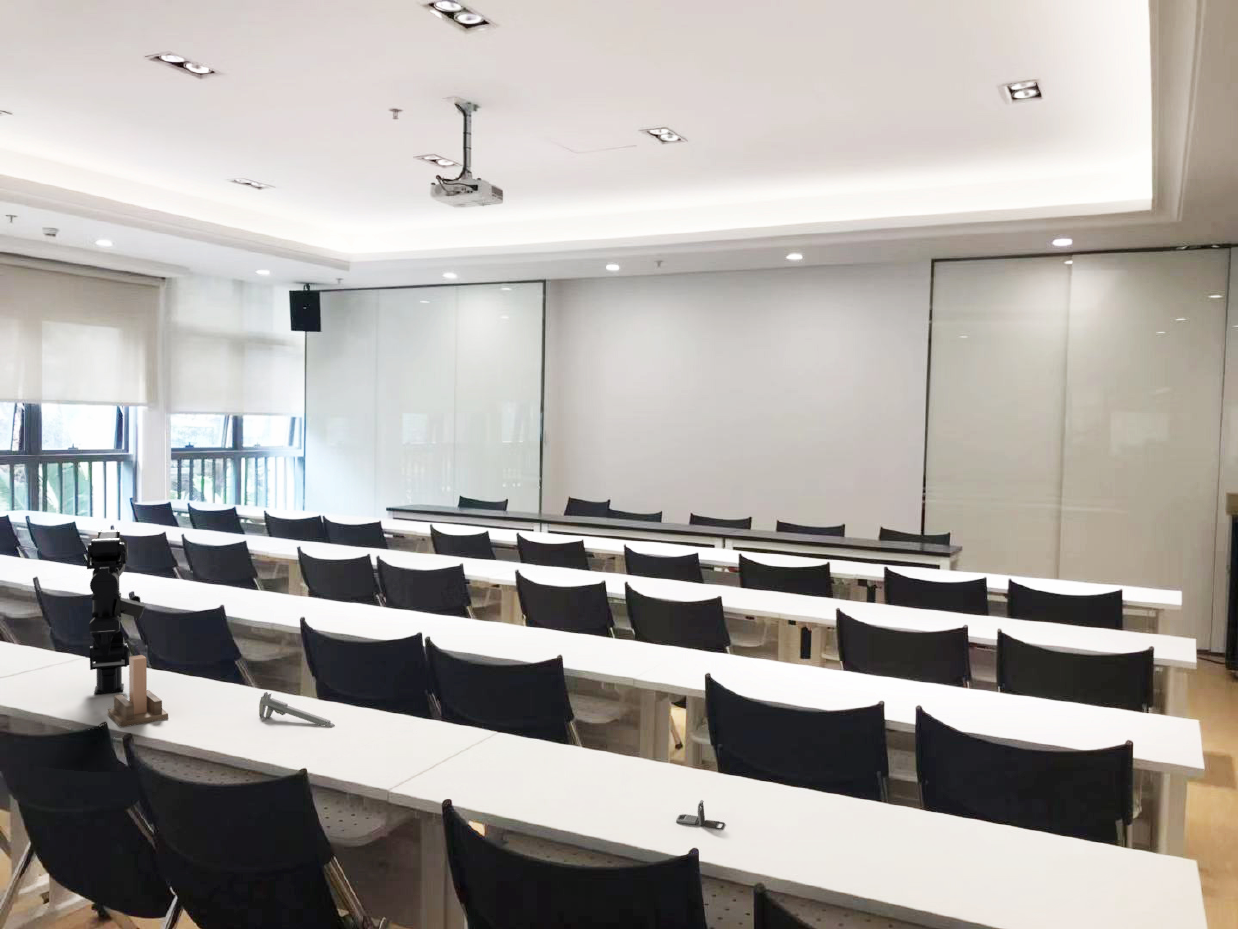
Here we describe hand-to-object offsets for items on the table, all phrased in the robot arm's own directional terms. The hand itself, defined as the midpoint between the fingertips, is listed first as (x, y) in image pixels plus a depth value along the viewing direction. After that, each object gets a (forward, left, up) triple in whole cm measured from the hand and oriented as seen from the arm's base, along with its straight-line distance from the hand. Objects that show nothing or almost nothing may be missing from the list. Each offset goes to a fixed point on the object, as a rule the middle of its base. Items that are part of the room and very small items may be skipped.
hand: (106, 653), depth 225 cm
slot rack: (+12, +7, -13) cm, 19 cm away
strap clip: (+118, +98, -14) cm, 154 cm away
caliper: (+31, +40, -14) cm, 53 cm away
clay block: (+12, +7, -12) cm, 19 cm away
